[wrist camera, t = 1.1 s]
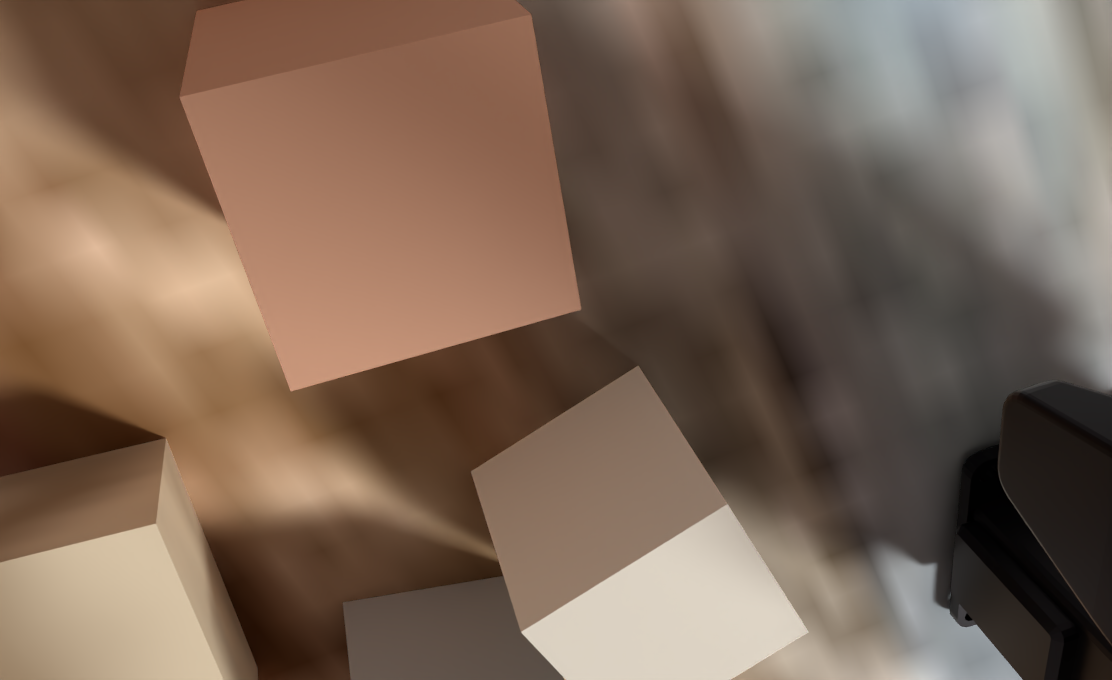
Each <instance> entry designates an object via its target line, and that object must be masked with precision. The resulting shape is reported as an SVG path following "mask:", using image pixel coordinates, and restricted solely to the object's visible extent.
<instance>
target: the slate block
mask: <svg viewBox="0 0 1112 680" xmlns="http://www.w3.org/2000/svg"><path fill="white" fill-rule="evenodd" d="M343 611H344V620H345V630H346V640H347V649H348V659H349V669H350V679H351V680H564V678H563V676H562V675H561V674H560V673H559V672H558V671H557V670H556V669H555V668H554V667H553V666H552V664H551V663H550V662H549V661H548V660H547V659H546V658H545V657H544V656H543V655H542V654H541V653H540V652H539V651H538V650H537V649H536V648H535V647H534V645H533V644H532V643H531V642H530V641H529V640H528V639H527V638H526V637H525V636H524V635H523V634H522V633H521V631H520V628H519V624H518V621H517V618H516V615H515V612H514V608H513V605H512V602H511V599H510V596H509V592H508V589H507V586H506V583H505V580H504V576H500V577H494V578H488V579H482V580H476V581H470V582H464V583H458V584H452V585H445V586H439V587H433V588H427V589H421V590H415V591H409V592H403V593H397V594H391V595H384V596H378V597H372V598H366V599H360V600H354V601H348V602H343Z"/></svg>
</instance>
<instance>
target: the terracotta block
mask: <svg viewBox="0 0 1112 680" xmlns="http://www.w3.org/2000/svg"><path fill="white" fill-rule="evenodd" d="M179 98H180V100H181V103H182V105H183V108H184V111H185V113H186V116H187V119H188V121H189V124H190V127H191V129H192V132H193V135H194V137H195V140H196V142H197V145H198V148H199V150H200V153H201V156H202V158H203V161H204V164H205V166H206V169H207V171H208V174H209V177H210V179H211V182H212V185H213V187H214V190H215V193H216V195H217V198H218V201H219V203H220V206H221V208H222V211H223V214H224V216H225V219H226V222H227V224H228V227H229V230H230V232H231V235H232V237H233V240H234V243H235V245H236V248H237V251H238V253H239V256H240V259H241V261H242V264H243V266H244V269H245V272H246V274H247V277H248V280H249V282H250V285H251V288H252V290H253V293H254V296H255V298H256V301H257V303H258V306H259V309H260V311H261V314H262V317H263V319H264V322H265V325H266V327H267V330H268V332H269V335H270V338H271V340H272V343H273V346H274V348H275V351H276V354H277V356H278V359H279V362H280V364H281V367H282V369H283V372H284V375H285V377H286V380H287V383H288V385H289V388H290V391H294V390H298V389H301V388H305V387H308V386H312V385H315V384H319V383H323V382H326V381H330V380H333V379H337V378H340V377H344V376H347V375H351V374H355V373H358V372H362V371H365V370H369V369H372V368H376V367H379V366H383V365H386V364H390V363H394V362H397V361H401V360H404V359H408V358H411V357H415V356H418V355H422V354H426V353H429V352H433V351H436V350H440V349H443V348H447V347H450V346H454V345H457V344H461V343H465V342H468V341H472V340H475V339H479V338H482V337H486V336H489V335H493V334H497V333H500V332H504V331H507V330H511V329H514V328H518V327H521V326H525V325H528V324H532V323H536V322H539V321H543V320H546V319H550V318H553V317H557V316H560V315H564V314H568V313H571V312H575V311H578V310H581V305H580V299H579V293H578V287H577V281H576V275H575V269H574V263H573V257H572V251H571V245H570V240H569V234H568V228H567V222H566V216H565V210H564V204H563V198H562V192H561V186H560V181H559V175H558V169H557V163H556V157H555V151H554V145H553V139H552V133H551V127H550V121H549V116H548V110H547V104H546V98H545V92H544V86H543V80H542V74H541V68H540V62H539V57H538V51H537V45H536V39H535V33H534V27H533V21H532V15H531V14H530V13H529V12H528V11H527V10H526V9H525V8H524V7H523V6H522V5H520V4H519V3H518V2H517V1H516V0H243V1H238V2H234V3H229V4H225V5H220V6H216V7H211V8H207V9H203V10H198V11H196V16H195V21H194V26H193V31H192V36H191V41H190V46H189V51H188V56H187V61H186V66H185V71H184V76H183V81H182V86H181V91H180V96H179Z"/></svg>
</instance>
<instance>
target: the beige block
mask: <svg viewBox="0 0 1112 680" xmlns="http://www.w3.org/2000/svg"><path fill="white" fill-rule="evenodd" d="M0 680H258V667H257V665H256V662H255V660H254V657H253V655H252V652H251V650H250V647H249V645H248V642H247V640H246V637H245V635H244V632H243V630H242V627H241V625H240V622H239V620H238V617H237V615H236V612H235V610H234V607H233V605H232V602H231V600H230V597H229V595H228V592H227V590H226V587H225V585H224V582H223V580H222V577H221V575H220V572H219V570H218V567H217V564H216V562H215V559H214V557H213V554H212V552H211V549H210V547H209V544H208V542H207V539H206V537H205V534H204V532H203V529H202V527H201V524H200V522H199V519H198V517H197V514H196V512H195V509H194V507H193V504H192V502H191V499H190V497H189V494H188V492H187V489H186V487H185V484H184V482H183V479H182V477H181V474H180V472H179V469H178V467H177V464H176V462H175V459H174V457H173V454H172V452H171V449H170V447H169V444H168V442H167V439H166V438H164V439H160V440H156V441H152V442H147V443H143V444H139V445H135V446H130V447H126V448H122V449H117V450H113V451H109V452H105V453H100V454H96V455H92V456H88V457H83V458H79V459H75V460H71V461H66V462H62V463H58V464H54V465H49V466H45V467H41V468H36V469H32V470H28V471H24V472H19V473H15V474H11V475H7V476H2V477H0Z"/></svg>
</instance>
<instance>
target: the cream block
mask: <svg viewBox="0 0 1112 680" xmlns="http://www.w3.org/2000/svg"><path fill="white" fill-rule="evenodd" d="M471 474H472V477H473V480H474V484H475V487H476V490H477V493H478V496H479V500H480V503H481V506H482V509H483V512H484V516H485V519H486V522H487V525H488V528H489V532H490V535H491V538H492V541H493V544H494V548H495V551H496V554H497V557H498V560H499V564H500V567H501V570H502V573H503V576H504V580H505V583H506V586H507V589H508V592H509V596H510V599H511V602H512V605H513V608H514V612H515V615H516V618H517V621H518V624H519V628H520V631H521V633H522V634H523V635H524V636H525V637H526V638H527V639H528V640H529V641H530V642H531V643H532V644H533V645H534V647H535V648H536V649H537V650H538V651H539V652H540V653H541V654H542V655H543V656H544V657H545V658H546V659H547V660H548V661H549V662H550V663H551V664H552V666H553V667H554V668H555V669H556V670H557V671H558V672H559V673H560V674H561V675H562V676H563V677H564V678H565V679H566V680H731V679H732V678H734V677H736V676H737V675H739V674H741V673H742V672H744V671H746V670H747V669H749V668H751V667H752V666H754V665H755V664H757V663H759V662H760V661H762V660H764V659H765V658H767V657H769V656H770V655H772V654H774V653H775V652H777V651H778V650H780V649H782V648H783V647H785V646H787V645H788V644H790V643H792V642H793V641H795V640H797V639H798V638H800V637H801V636H803V635H805V634H806V633H808V630H807V629H806V627H805V625H804V624H803V622H802V621H801V619H800V618H799V616H798V614H797V613H796V611H795V610H794V608H793V607H792V605H791V603H790V602H789V600H788V599H787V597H786V595H785V594H784V592H783V591H782V589H781V588H780V586H779V584H778V583H777V581H776V580H775V578H774V577H773V575H772V573H771V572H770V570H769V569H768V567H767V566H766V564H765V562H764V561H763V559H762V558H761V556H760V554H759V553H758V551H757V550H756V548H755V547H754V545H753V543H752V542H751V540H750V539H749V537H748V536H747V534H746V532H745V531H744V529H743V528H742V526H741V524H740V523H739V521H738V520H737V518H736V517H735V515H734V513H733V512H732V510H731V509H730V507H729V506H728V504H727V502H726V501H725V499H724V498H723V496H722V495H721V493H720V492H719V490H718V488H717V487H716V485H715V484H714V482H713V481H712V479H711V478H710V476H709V474H708V473H707V471H706V470H705V468H704V467H703V465H702V464H701V462H700V460H699V459H698V457H697V456H696V454H695V453H694V451H693V450H692V448H691V447H690V445H689V443H688V442H687V440H686V439H685V437H684V436H683V434H682V433H681V431H680V429H679V428H678V426H677V425H676V423H675V422H674V420H673V419H672V417H671V415H670V414H669V412H668V411H667V409H666V408H665V406H664V405H663V403H662V401H661V400H660V398H659V397H658V395H657V394H656V392H655V391H654V389H653V387H652V386H651V384H650V383H649V381H648V380H647V378H646V377H645V375H644V373H643V372H642V370H641V369H640V367H639V366H637V367H635V368H633V369H632V370H630V371H629V372H627V373H626V374H624V375H622V376H621V377H619V378H618V379H616V380H615V381H613V382H611V383H610V384H608V385H607V386H605V387H603V388H602V389H600V390H599V391H597V392H596V393H594V394H592V395H591V396H589V397H588V398H586V399H584V400H583V401H581V402H580V403H578V404H577V405H575V406H573V407H572V408H570V409H569V410H567V411H566V412H564V413H562V414H561V415H559V416H558V417H556V418H554V419H553V420H551V421H550V422H548V423H547V424H545V425H543V426H542V427H540V428H539V429H537V430H535V431H534V432H532V433H531V434H529V435H528V436H526V437H524V438H523V439H521V440H520V441H518V442H517V443H515V444H513V445H512V446H510V447H509V448H507V449H505V450H504V451H502V452H501V453H499V454H498V455H496V456H494V457H493V458H491V459H490V460H488V461H486V462H485V463H483V464H482V465H480V466H479V467H477V468H475V469H474V470H472V471H471Z"/></svg>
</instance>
